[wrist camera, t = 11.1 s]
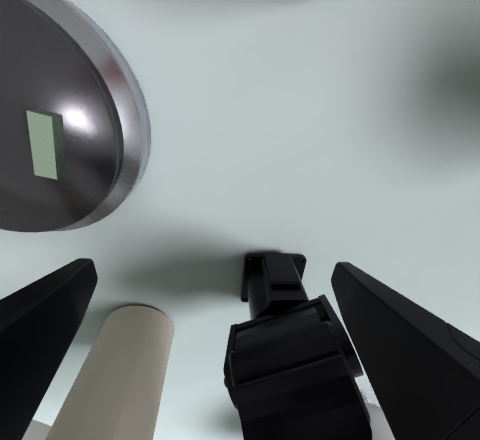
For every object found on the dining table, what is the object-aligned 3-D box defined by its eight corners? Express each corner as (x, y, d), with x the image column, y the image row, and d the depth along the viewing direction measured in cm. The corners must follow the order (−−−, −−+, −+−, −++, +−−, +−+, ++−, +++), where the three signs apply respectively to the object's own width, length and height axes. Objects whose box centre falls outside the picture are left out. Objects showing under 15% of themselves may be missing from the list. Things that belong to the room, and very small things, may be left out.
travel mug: (166, 299, 27) (90, 590, 11) (179, 343, 31) (137, 605, 15) (95, 306, 27) (-82, 613, 11) (118, 350, 31) (10, 623, 15)
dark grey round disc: (159, 218, 22) (151, 235, 20) (-31, 212, 21) (-68, 230, 18) (136, -13, 15) (118, -36, 12) (-167, -50, 13) (-265, -84, 10)
